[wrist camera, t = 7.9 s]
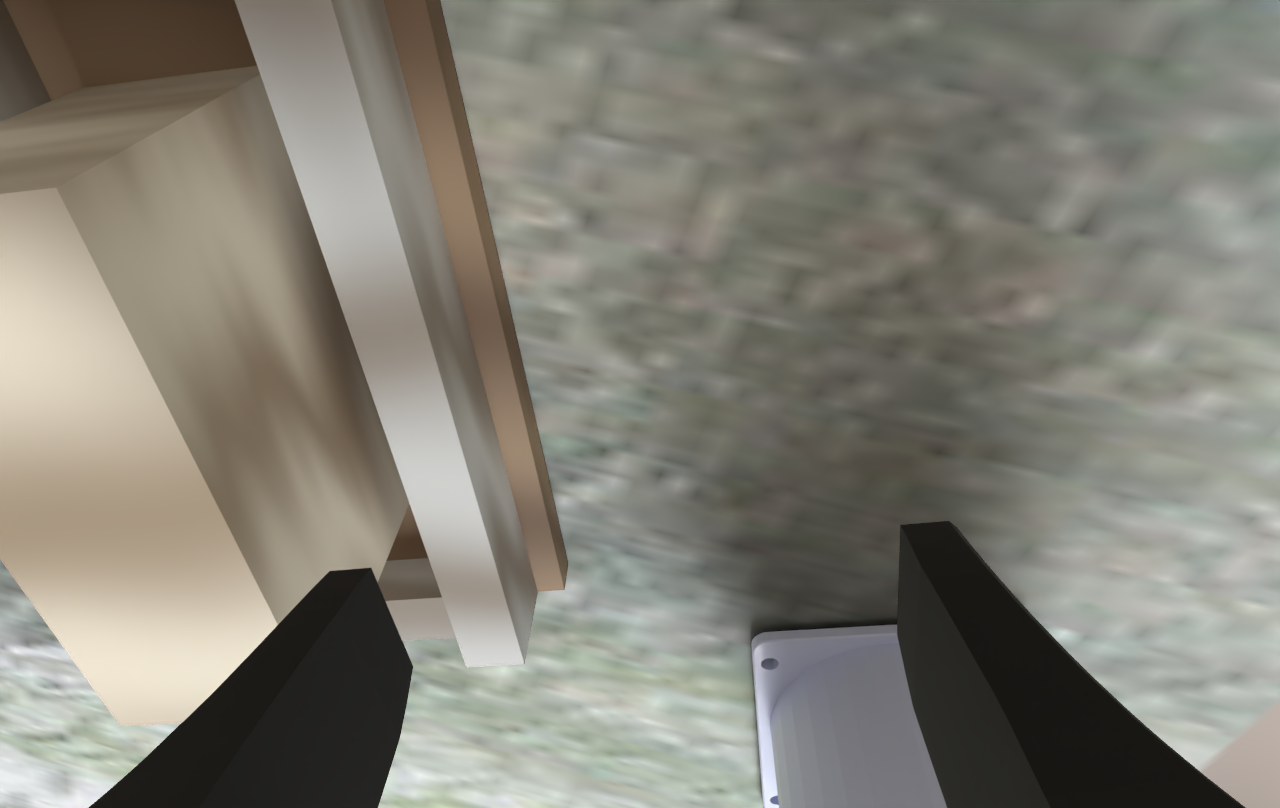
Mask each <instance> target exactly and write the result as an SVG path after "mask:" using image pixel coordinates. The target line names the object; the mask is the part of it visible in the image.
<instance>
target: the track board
mask: <svg viewBox="0 0 1280 808" xmlns="http://www.w3.org/2000/svg"><path fill="white" fill-rule="evenodd" d="M251 66H258V69H259V72H260V75H261V78H262V81H263V84H264V86H265V89H266V92H267V95H268V98H269V101H270V104H271V107H272V109H273V112H274V115H275V118H276V121H277V124H278V127H279V130H280V132H281V135H282V138H283V141H284V144H285V147H286V150H287V153H288V155H289V158H290V161H291V164H292V167H293V170H294V173H295V176H296V178H297V181H298V184H299V187H300V190H301V193H302V196H303V199H304V201H305V204H306V207H307V210H308V213H309V216H310V219H311V222H312V224H313V227H314V230H315V233H316V236H317V239H318V242H319V245H320V248H321V250H322V253H323V256H324V259H325V262H326V265H327V268H328V271H329V273H330V276H331V279H332V282H333V285H334V288H335V291H336V294H337V296H338V299H339V302H340V305H341V308H342V311H343V314H344V317H345V319H346V322H347V325H348V328H349V331H350V334H351V337H352V340H353V342H354V345H355V348H356V351H357V354H358V357H359V360H360V363H361V365H362V368H363V371H364V374H365V377H366V380H367V383H368V386H369V388H370V391H371V394H372V397H373V400H374V403H375V406H376V409H377V411H378V414H379V417H380V420H381V423H382V426H383V429H384V432H385V434H386V437H387V440H388V443H389V446H390V449H391V452H392V455H393V457H394V460H395V463H396V466H397V469H398V472H399V475H400V478H401V480H402V483H403V486H404V489H405V492H406V495H407V498H408V501H409V506H408V508H407V511H406V513H405V516H404V518H403V521H402V523H401V526H400V528H399V531H398V533H397V536H396V538H395V541H394V543H393V546H392V548H391V550H390V553H389V555H388V558H387V560H386V563H385V565H384V568H383V570H382V573H381V575H380V578H379V580H378V585H379V587H380V590H381V592H382V594H383V597H384V599H385V601H386V604H387V606H388V609H389V611H390V613H391V616H392V618H393V620H394V623H395V625H396V628H397V630H398V632H399V635H400V637H401V639H402V641H410V640H427V639H444V638H456V639H457V642H458V644H459V647H460V650H461V653H462V656H463V659H464V662H465V665H466V667H482V666H500V665H518V664H525V659H526V653H527V648H528V642H529V637H530V631H531V626H532V620H533V615H534V609H535V604H536V598H537V593H538V591H552V590H565V583H566V576H567V569H568V561H567V556H566V552H565V548H564V543H563V539H562V535H561V530H560V526H559V521H558V517H557V513H556V508H555V504H554V499H553V495H552V491H551V486H550V482H549V478H548V473H547V469H546V464H545V460H544V456H543V451H542V447H541V442H540V438H539V434H538V429H537V425H536V420H535V416H534V412H533V407H532V403H531V399H530V394H529V390H528V385H527V381H526V377H525V372H524V368H523V363H522V359H521V355H520V350H519V346H518V342H517V337H516V333H515V328H514V324H513V320H512V315H511V311H510V306H509V302H508V298H507V293H506V289H505V285H504V280H503V276H502V271H501V267H500V263H499V258H498V254H497V249H496V245H495V241H494V236H493V232H492V227H491V223H490V219H489V214H488V210H487V206H486V201H485V197H484V192H483V188H482V184H481V179H480V175H479V170H478V166H477V162H476V157H475V153H474V149H473V144H472V140H471V135H470V131H469V127H468V122H467V118H466V113H465V109H464V105H463V100H462V96H461V92H460V87H459V83H458V78H457V74H456V70H455V65H454V61H453V56H452V52H451V48H450V43H449V39H448V34H447V30H446V26H445V21H444V17H443V13H442V8H441V4H440V0H0V122H1V121H4V120H6V119H9V118H11V117H14V116H16V115H18V114H21V113H23V112H26V111H28V110H30V109H33V108H35V107H38V106H40V105H43V104H45V103H47V102H50V101H52V100H55V99H57V98H60V97H62V96H64V95H67V94H69V93H72V92H74V91H77V90H79V89H81V88H84V87H92V86H100V85H108V84H116V83H124V82H132V81H140V80H148V79H156V78H164V77H171V76H179V75H187V74H195V73H203V72H211V71H219V70H227V69H235V68H243V67H251Z"/></svg>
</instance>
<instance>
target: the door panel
mask: <svg viewBox="0 0 1280 808" xmlns="http://www.w3.org/2000/svg"><path fill="white" fill-rule="evenodd" d="M408 506H409V501H408V498H407V495H406V492H405V489H404V486H403V483H402V480H401V478H400V475H399V472H398V469H397V466H396V463H395V460H394V457H393V455H392V452H391V449H390V446H389V443H388V440H387V437H386V434H385V432H384V429H383V426H382V423H381V420H380V417H379V414H378V411H377V409H376V406H375V403H374V400H373V397H372V394H371V391H370V388H369V386H368V383H367V380H366V377H365V374H364V371H363V368H362V365H361V363H360V360H359V357H358V354H357V351H356V348H355V345H354V342H353V340H352V337H351V334H350V331H349V328H348V325H347V322H346V319H345V317H344V314H343V311H342V308H341V305H340V302H339V299H338V296H337V294H336V291H335V288H334V285H333V282H332V279H331V276H330V273H329V271H328V268H327V265H326V262H325V259H324V256H323V253H322V250H321V248H320V245H319V242H318V239H317V236H316V233H315V230H314V227H313V224H312V222H311V219H310V216H309V213H308V210H307V207H306V204H305V201H304V199H303V196H302V193H301V190H300V187H299V184H298V181H297V178H296V176H295V173H294V170H293V167H292V164H291V161H290V158H289V155H288V153H287V150H286V147H285V144H284V141H283V138H282V135H281V132H280V130H279V127H278V124H277V121H276V118H275V115H274V112H273V109H272V107H271V104H270V101H269V98H268V95H267V92H266V89H265V86H264V84H263V81H262V78H261V75H260V72H259V69H258V66H251V67H243V68H235V69H227V70H219V71H211V72H203V73H195V74H187V75H179V76H171V77H164V78H156V79H148V80H140V81H132V82H124V83H116V84H108V85H100V86H92V87H84V88H81V89H79V90H77V91H74V92H72V93H69V94H67V95H64V96H62V97H60V98H57V99H55V100H52V101H50V102H47V103H45V104H43V105H40V106H38V107H35V108H33V109H30V110H28V111H26V112H23V113H21V114H18V115H16V116H14V117H11V118H9V119H6V120H4V121H1V122H0V559H1V561H2V562H3V564H4V565H5V566H6V568H7V569H8V571H9V572H10V573H11V575H12V576H13V578H14V579H15V580H16V582H17V583H18V585H19V586H20V587H21V589H22V590H23V591H24V593H25V594H26V596H27V597H28V598H29V600H30V601H31V603H32V604H33V605H34V607H35V608H36V610H37V611H38V612H39V614H40V615H41V617H42V618H43V619H44V621H45V622H46V623H47V625H48V626H49V628H50V629H51V630H52V632H53V633H54V635H55V636H56V637H57V639H58V640H59V642H60V643H61V644H62V646H63V647H64V649H65V650H66V651H67V653H68V654H69V656H70V657H71V658H72V660H73V661H74V662H75V664H76V665H77V667H78V668H79V669H80V671H81V672H82V674H83V675H84V676H85V678H86V679H87V681H88V682H89V683H90V685H91V686H92V688H93V689H94V690H95V692H96V693H97V694H98V696H99V697H100V699H101V700H102V701H103V703H104V704H105V706H106V707H107V708H108V710H109V711H110V713H111V714H112V715H113V717H114V718H115V720H116V721H117V722H118V724H119V725H120V726H135V725H154V724H174V723H182V722H183V721H184V720H185V719H186V718H187V717H189V716H190V715H191V714H192V713H193V712H194V711H195V710H196V709H197V708H198V707H199V706H200V705H201V704H202V703H203V702H204V701H205V700H206V699H207V698H208V697H209V696H210V695H211V694H212V693H213V692H214V691H215V690H216V689H217V688H218V687H219V686H220V685H221V684H222V683H223V682H224V681H225V680H226V679H227V678H228V677H229V676H230V675H231V674H232V673H233V672H234V670H235V669H236V668H237V667H238V666H239V665H240V664H241V663H242V662H243V661H244V660H245V659H246V658H247V657H248V656H249V655H250V654H251V653H252V652H253V651H254V650H255V649H256V648H257V647H258V645H259V644H260V643H261V642H262V641H263V640H264V639H265V638H266V637H267V636H268V635H269V634H270V633H271V632H272V631H273V630H274V629H275V627H276V626H277V625H278V624H279V623H280V622H281V621H282V620H283V619H284V618H285V617H286V616H287V615H288V614H289V613H290V611H291V610H292V609H293V608H294V607H295V606H296V605H297V604H298V603H299V602H300V601H301V600H302V599H303V598H304V597H305V596H306V595H307V594H308V592H309V591H310V590H311V589H312V588H313V587H314V586H315V585H316V584H317V583H318V582H319V581H320V580H321V579H322V578H323V577H324V576H325V575H326V574H327V573H328V572H329V571H336V570H349V569H361V568H372V571H373V573H374V575H375V578H376V580H377V583H378V580H379V578H380V575H381V573H382V570H383V568H384V565H385V563H386V560H387V558H388V555H389V553H390V550H391V548H392V546H393V543H394V541H395V538H396V536H397V533H398V531H399V528H400V526H401V523H402V521H403V518H404V516H405V513H406V511H407V508H408Z"/></svg>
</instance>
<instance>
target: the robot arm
mask: <svg viewBox="0 0 1280 808" xmlns="http://www.w3.org/2000/svg"><path fill="white" fill-rule="evenodd" d="M751 648H752V662H753V675H754V689H755V702H756V716H757V729H758V743H759V756H760V770H761V783H762V797H763V808H1245V807H1244V806H1243V805H1241V804H1240V803H1239V802H1238V801H1236V800H1235V799H1234V798H1232V797H1231V796H1230V795H1229V794H1227V793H1226V792H1225V791H1223V790H1222V789H1221V788H1220V787H1218V786H1217V785H1216V784H1215V783H1213V782H1212V781H1211V780H1209V779H1208V778H1207V777H1206V776H1204V775H1203V774H1202V773H1201V772H1200V771H1198V770H1197V769H1196V768H1195V767H1194V766H1192V765H1191V764H1190V763H1189V762H1187V761H1186V760H1185V759H1184V758H1183V757H1181V756H1180V755H1179V754H1178V753H1177V752H1175V751H1174V750H1173V749H1172V748H1171V747H1169V746H1168V745H1167V744H1166V743H1165V742H1164V741H1162V740H1161V739H1160V738H1159V737H1158V736H1157V735H1155V734H1154V733H1153V732H1152V731H1151V730H1150V729H1149V728H1147V727H1146V726H1145V725H1144V724H1143V723H1142V722H1141V721H1140V720H1138V719H1137V718H1136V717H1135V716H1134V715H1133V714H1132V713H1131V712H1130V711H1128V710H1127V709H1126V708H1125V707H1124V706H1123V705H1122V704H1121V703H1120V702H1119V701H1118V700H1117V699H1116V698H1114V697H1113V696H1112V695H1111V694H1110V693H1109V692H1108V691H1107V690H1106V689H1105V688H1104V687H1103V686H1102V685H1101V684H1100V683H1099V682H1097V681H1096V680H1095V679H1094V678H1093V677H1092V676H1091V675H1090V674H1089V673H1088V672H1087V671H1086V670H1085V669H1084V668H1083V667H1082V666H1081V665H1080V664H1079V663H1078V662H1077V661H1076V660H1075V659H1074V658H1073V657H1072V656H1071V655H1070V654H1069V653H1068V652H1067V651H1066V650H1065V649H1064V648H1063V647H1062V646H1061V645H1060V644H1059V643H1058V642H1057V641H1056V640H1055V639H1054V638H1053V637H1052V635H1051V634H1050V633H1049V632H1048V631H1047V630H1046V629H1045V628H1044V627H1043V626H1042V625H1041V624H1040V623H1039V622H1038V621H1037V620H1036V619H1035V618H1034V617H1033V616H1032V615H1031V614H1030V612H1029V611H1028V610H1027V609H1026V608H1025V607H1024V606H1023V605H1022V604H1021V603H1020V602H1019V600H1018V599H1017V598H1016V597H1015V596H1014V595H1013V594H1012V593H1011V591H1010V590H1009V589H1008V588H1007V587H1006V586H1005V585H1004V584H1003V582H1002V581H1001V580H1000V579H999V578H998V577H997V576H996V574H995V573H994V572H993V571H992V570H991V569H990V567H989V566H988V565H987V564H986V563H985V562H984V560H983V559H982V558H981V557H980V556H979V554H978V553H977V552H976V551H975V549H974V548H973V547H972V546H971V545H970V543H969V542H968V541H967V540H966V538H965V537H964V536H963V535H962V533H961V532H960V531H959V530H958V528H957V527H956V526H954V525H953V524H952V523H951V522H949V521H944V522H932V523H919V524H907V525H900V555H899V586H898V618H897V624H896V625H879V626H861V627H844V628H827V629H809V630H792V631H774V632H764V633H761V634H759V635H757V636H755V637H754V639H753V640H752V643H751ZM768 658H773V659H768ZM412 669H413V665H412V663H411V661H410V658H409V656H408V654H407V651H406V649H405V647H404V644H403V642H402V639H401V637H400V635H399V632H398V630H397V628H396V625H395V623H394V620H393V618H392V616H391V613H390V611H389V609H388V606H387V604H386V601H385V599H384V597H383V594H382V592H381V590H380V587H379V585H378V583H377V580H376V578H375V575H374V573H373V571H372V568H361V569H349V570H336V571H329V572H328V573H327V574H326V575H325V576H324V577H323V578H322V579H321V580H320V581H319V582H318V583H317V584H316V585H315V586H314V587H313V588H312V589H311V590H310V591H309V592H308V594H307V595H306V596H305V597H304V598H303V599H302V600H301V601H300V602H299V603H298V604H297V605H296V606H295V607H294V608H293V609H292V610H291V611H290V613H289V614H288V615H287V616H286V617H285V618H284V619H283V620H282V621H281V622H280V623H279V624H278V625H277V626H276V627H275V629H274V630H273V631H272V632H271V633H270V634H269V635H268V636H267V637H266V638H265V639H264V640H263V641H262V642H261V643H260V644H259V645H258V647H257V648H256V649H255V650H254V651H253V652H252V653H251V654H250V655H249V656H248V657H247V658H246V659H245V660H244V661H243V662H242V663H241V664H240V665H239V666H238V667H237V668H236V669H235V670H234V672H233V673H232V674H231V675H230V676H229V677H228V678H227V679H226V680H225V681H224V682H223V683H222V684H221V685H220V686H219V687H218V688H217V689H216V690H215V691H214V692H213V693H212V694H211V695H210V696H209V697H208V698H207V699H206V700H205V701H204V702H203V703H202V704H201V705H200V706H199V707H198V708H197V709H196V710H195V711H194V712H193V713H192V714H191V715H190V716H189V717H187V718H186V719H185V720H184V721H183V722H182V723H181V724H180V725H179V726H178V727H177V728H176V729H175V730H174V731H173V732H172V733H171V734H170V735H169V736H168V737H167V738H166V739H165V740H164V741H163V742H162V743H161V744H160V745H159V746H157V747H156V748H155V749H154V750H153V751H152V752H151V753H150V754H149V755H148V756H147V757H146V758H145V759H144V760H143V761H142V762H141V763H139V764H138V765H137V766H136V767H135V768H134V769H133V770H132V771H131V772H130V773H128V774H127V775H126V776H125V777H124V778H123V779H122V780H120V781H119V782H118V783H117V784H116V785H115V786H114V787H113V788H111V789H110V790H109V791H108V792H107V793H106V794H104V795H103V796H102V797H101V798H100V799H98V800H97V801H96V802H95V803H94V804H93V805H91V806H90V807H89V808H378V805H379V802H380V799H381V796H382V793H383V790H384V786H385V783H386V780H387V777H388V774H389V771H390V767H391V764H392V761H393V758H394V755H395V751H396V748H397V745H398V742H399V738H400V734H401V729H402V724H403V719H404V714H405V709H406V704H407V698H408V693H409V687H410V681H411V675H412Z"/></svg>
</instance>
